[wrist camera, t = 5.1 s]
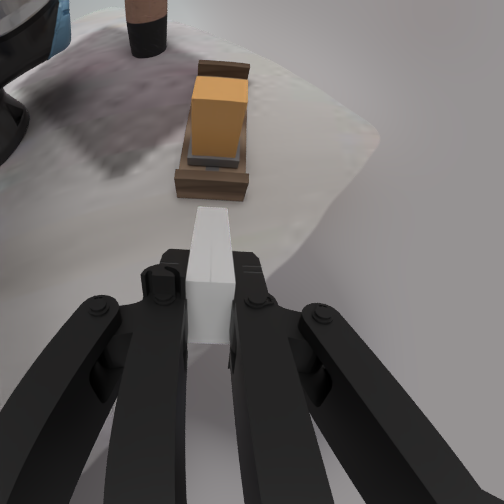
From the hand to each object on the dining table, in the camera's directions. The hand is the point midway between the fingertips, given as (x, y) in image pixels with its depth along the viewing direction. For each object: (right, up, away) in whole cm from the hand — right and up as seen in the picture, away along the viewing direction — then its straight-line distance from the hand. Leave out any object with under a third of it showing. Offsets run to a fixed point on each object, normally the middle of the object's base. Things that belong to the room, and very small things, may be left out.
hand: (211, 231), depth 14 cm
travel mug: (-18, +39, +25) cm, 50 cm away
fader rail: (-3, +16, +21) cm, 27 cm away
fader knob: (-2, +11, +17) cm, 21 cm away
